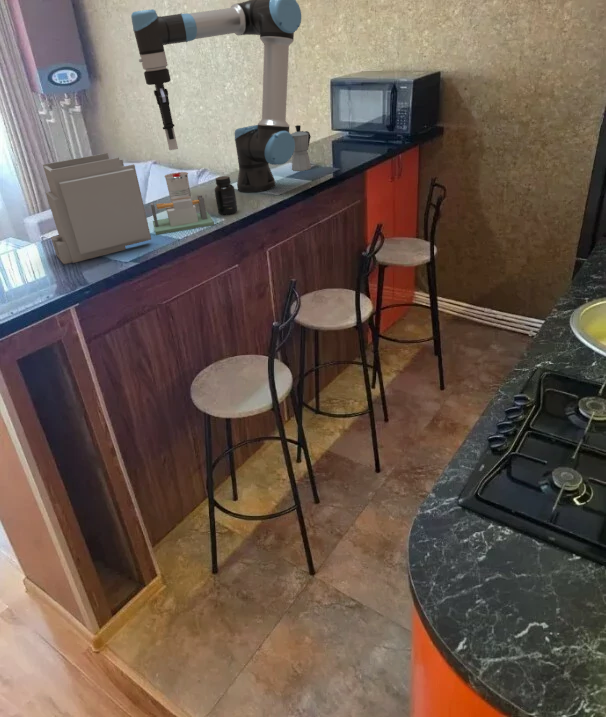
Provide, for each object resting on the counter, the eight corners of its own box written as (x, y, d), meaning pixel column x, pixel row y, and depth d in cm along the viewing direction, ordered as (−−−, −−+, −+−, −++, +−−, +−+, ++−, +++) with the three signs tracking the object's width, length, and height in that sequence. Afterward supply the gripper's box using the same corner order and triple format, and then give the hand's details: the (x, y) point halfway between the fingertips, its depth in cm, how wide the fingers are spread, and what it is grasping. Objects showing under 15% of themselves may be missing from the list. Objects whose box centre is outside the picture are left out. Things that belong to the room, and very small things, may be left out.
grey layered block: (54, 252, 178) (26, 166, 165) (137, 232, 189) (117, 149, 176) (66, 267, 165) (37, 174, 152) (154, 244, 176) (134, 156, 163)
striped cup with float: (188, 211, 206) (181, 177, 200) (166, 212, 208) (159, 178, 202) (198, 203, 215) (192, 170, 209) (177, 204, 216) (170, 172, 211)
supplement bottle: (216, 212, 202) (210, 177, 196) (234, 208, 204) (229, 174, 198) (221, 216, 196) (215, 181, 190) (240, 213, 198) (235, 177, 192)
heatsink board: (207, 214, 200) (203, 190, 196) (214, 224, 188) (209, 199, 184) (153, 223, 196) (147, 199, 192) (155, 234, 184) (150, 208, 180)
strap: (202, 201, 192) (201, 196, 192) (203, 203, 189) (203, 199, 189) (156, 206, 189) (155, 202, 188) (157, 209, 186) (156, 204, 185)
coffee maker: (302, 172, 245) (298, 128, 236) (285, 172, 250) (281, 128, 241) (320, 165, 256) (317, 121, 247) (303, 164, 260) (299, 122, 251)
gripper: (141, 70, 180) (160, 148, 192) (144, 71, 169) (164, 154, 181) (165, 66, 181) (182, 144, 194) (170, 68, 171) (187, 150, 183)
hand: (173, 149), depth 187 cm, fingers closed
